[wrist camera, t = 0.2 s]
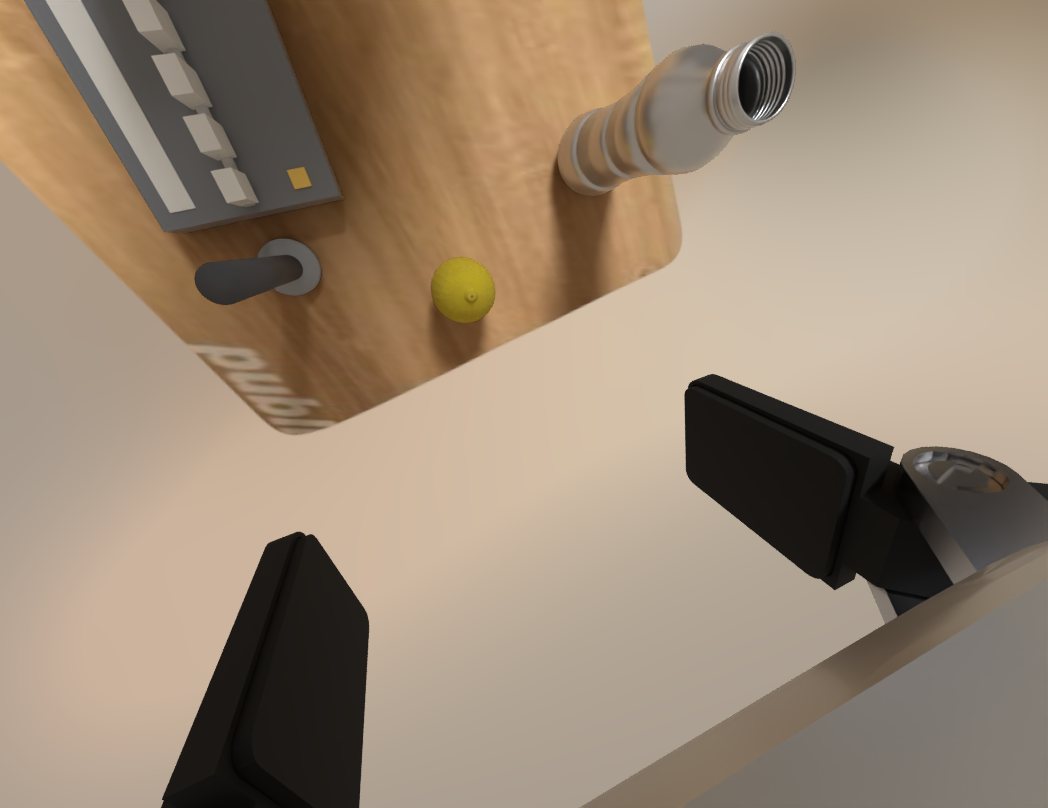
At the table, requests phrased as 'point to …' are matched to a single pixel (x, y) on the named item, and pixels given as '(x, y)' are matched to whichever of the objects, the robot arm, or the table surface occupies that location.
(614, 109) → the plastic bottle
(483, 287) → the lemon
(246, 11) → the breaker panel
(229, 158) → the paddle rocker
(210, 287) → the cord post
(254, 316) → the table surface
